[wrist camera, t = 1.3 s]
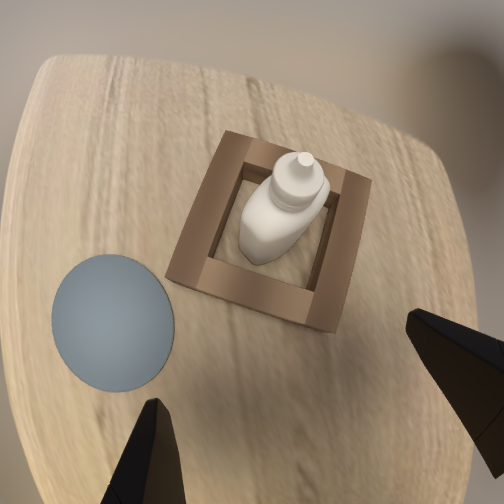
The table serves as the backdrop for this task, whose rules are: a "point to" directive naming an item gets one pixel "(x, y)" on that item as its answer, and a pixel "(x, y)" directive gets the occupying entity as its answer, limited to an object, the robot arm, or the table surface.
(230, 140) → the walnut socket block
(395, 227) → the table surface
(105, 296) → the slate-blue rubber mat
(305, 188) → the eye dropper bottle
